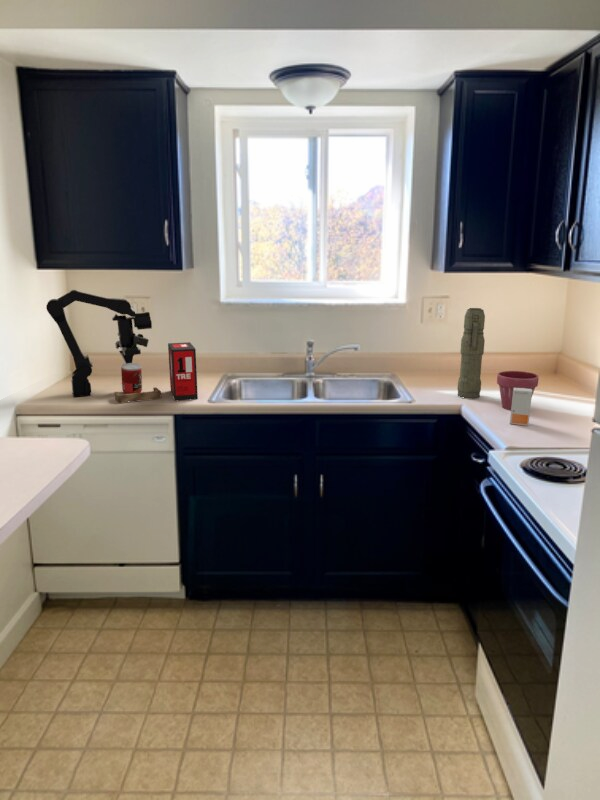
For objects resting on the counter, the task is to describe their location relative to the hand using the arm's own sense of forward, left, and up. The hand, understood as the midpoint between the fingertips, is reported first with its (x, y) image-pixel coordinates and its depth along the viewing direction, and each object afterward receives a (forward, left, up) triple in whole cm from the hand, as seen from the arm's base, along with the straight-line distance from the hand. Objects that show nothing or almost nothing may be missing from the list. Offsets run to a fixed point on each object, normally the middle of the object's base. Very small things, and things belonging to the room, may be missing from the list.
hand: (129, 368), depth 238 cm
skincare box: (+107, -107, -10) cm, 152 cm away
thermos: (+118, -71, -10) cm, 139 cm away
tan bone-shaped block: (-1, -15, -10) cm, 18 cm away
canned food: (0, -3, -9) cm, 10 cm away
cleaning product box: (+17, -17, -10) cm, 26 cm away
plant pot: (+121, -92, -10) cm, 153 cm away
